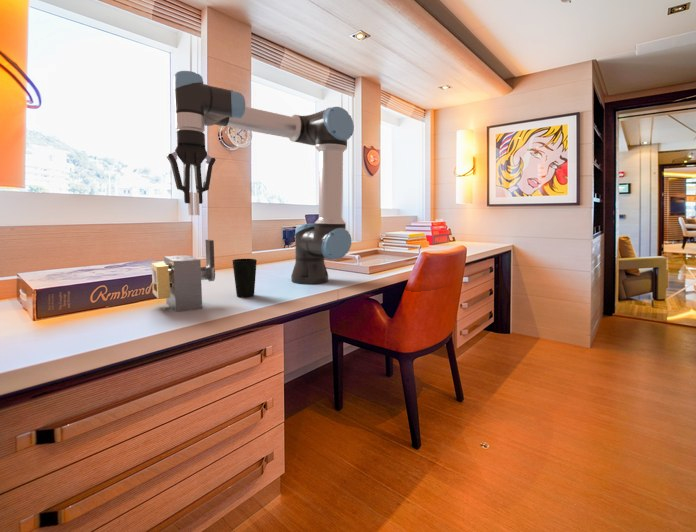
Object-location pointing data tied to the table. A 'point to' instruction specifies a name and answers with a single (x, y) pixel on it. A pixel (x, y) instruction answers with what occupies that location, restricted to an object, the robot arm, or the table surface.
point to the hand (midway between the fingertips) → (194, 215)
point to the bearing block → (184, 282)
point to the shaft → (206, 272)
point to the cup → (244, 277)
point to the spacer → (161, 280)
